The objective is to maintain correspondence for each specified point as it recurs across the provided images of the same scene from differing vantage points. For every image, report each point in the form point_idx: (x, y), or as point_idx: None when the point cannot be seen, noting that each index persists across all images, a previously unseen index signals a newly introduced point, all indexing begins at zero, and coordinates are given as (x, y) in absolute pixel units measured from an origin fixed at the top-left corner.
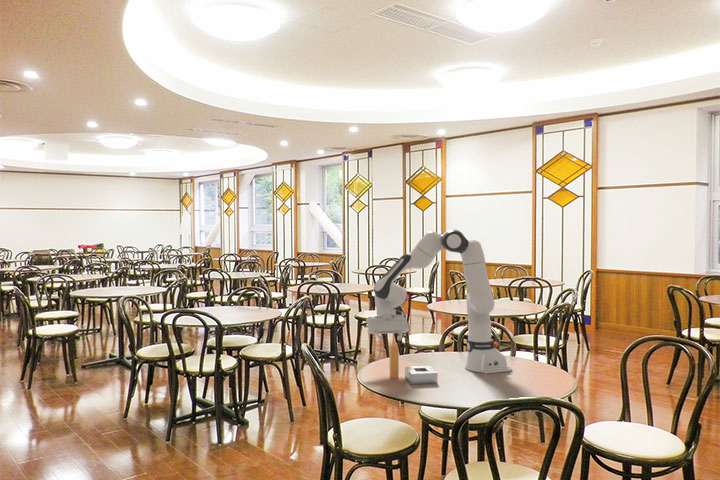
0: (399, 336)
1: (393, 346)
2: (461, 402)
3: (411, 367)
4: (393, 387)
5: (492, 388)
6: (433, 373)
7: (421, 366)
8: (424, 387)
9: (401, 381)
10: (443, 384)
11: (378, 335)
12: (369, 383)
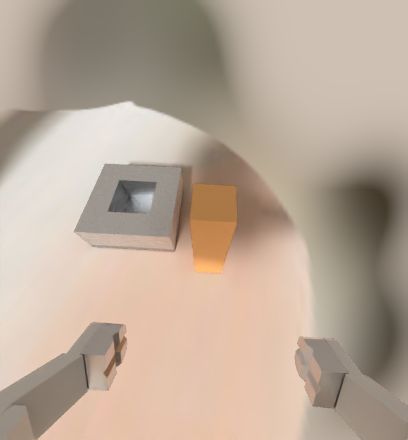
0: (93, 340)
1: (213, 216)
2: (137, 107)
3: (150, 224)
4: (231, 183)
5: (27, 144)
6: (116, 165)
7: (109, 228)
8: None
9: None
10: None
11: (372, 384)
12: (290, 220)
